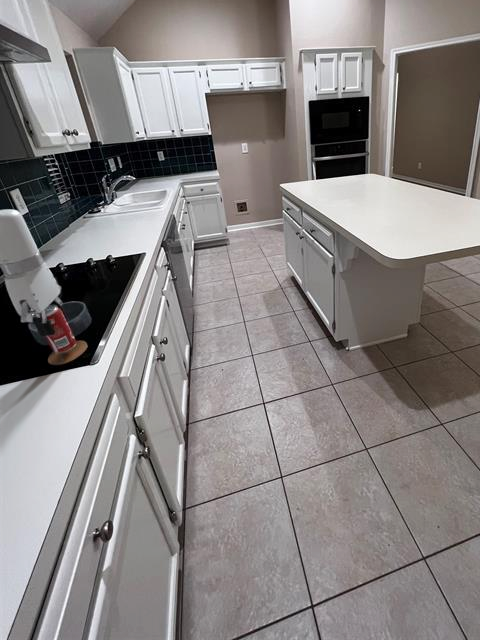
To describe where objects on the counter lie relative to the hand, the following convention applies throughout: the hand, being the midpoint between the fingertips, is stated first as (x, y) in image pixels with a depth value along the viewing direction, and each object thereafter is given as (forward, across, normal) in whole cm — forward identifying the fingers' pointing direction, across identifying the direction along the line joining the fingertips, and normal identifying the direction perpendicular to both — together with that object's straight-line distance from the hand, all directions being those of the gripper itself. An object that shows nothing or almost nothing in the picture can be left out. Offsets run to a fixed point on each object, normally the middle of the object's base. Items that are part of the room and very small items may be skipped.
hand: (54, 326), depth 80 cm
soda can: (+7, 0, 0) cm, 7 cm away
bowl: (+9, -11, -6) cm, 15 cm away
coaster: (+9, 0, 0) cm, 9 cm away
